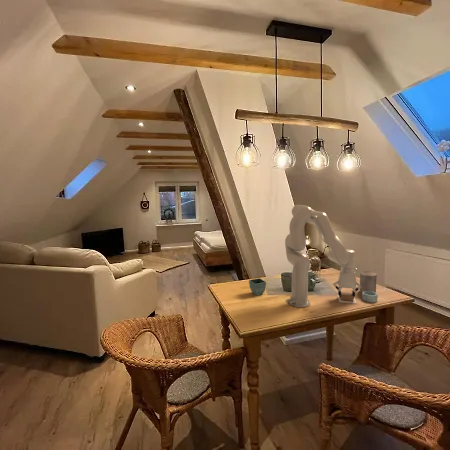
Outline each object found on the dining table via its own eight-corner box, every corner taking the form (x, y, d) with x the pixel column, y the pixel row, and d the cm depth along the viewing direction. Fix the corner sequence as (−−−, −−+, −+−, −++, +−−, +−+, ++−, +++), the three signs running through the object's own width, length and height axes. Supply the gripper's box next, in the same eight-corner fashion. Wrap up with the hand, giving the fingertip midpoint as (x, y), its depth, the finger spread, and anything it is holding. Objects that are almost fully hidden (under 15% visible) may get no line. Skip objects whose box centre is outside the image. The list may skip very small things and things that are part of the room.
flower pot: (255, 297, 183) (255, 284, 182) (248, 292, 191) (248, 280, 190) (266, 294, 187) (266, 281, 185) (259, 290, 195) (259, 278, 193)
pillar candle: (364, 289, 193) (365, 268, 191) (378, 293, 185) (379, 271, 183) (356, 292, 188) (357, 270, 185) (370, 297, 179) (371, 274, 177)
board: (353, 301, 172) (353, 296, 172) (340, 300, 174) (341, 295, 174) (351, 297, 179) (351, 292, 178) (339, 296, 181) (339, 291, 180)
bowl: (371, 303, 169) (371, 296, 169) (359, 299, 176) (359, 292, 176) (379, 301, 173) (380, 294, 173) (367, 296, 180) (368, 289, 180)
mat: (356, 304, 169) (356, 303, 169) (339, 302, 172) (339, 301, 172) (353, 296, 181) (353, 295, 181) (337, 295, 184) (337, 294, 184)
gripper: (362, 268, 175) (360, 296, 177) (332, 267, 180) (331, 293, 182) (364, 272, 168) (362, 300, 170) (333, 270, 173) (332, 298, 175)
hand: (346, 296), depth 176 cm, fingers closed on board, 7 cm apart
